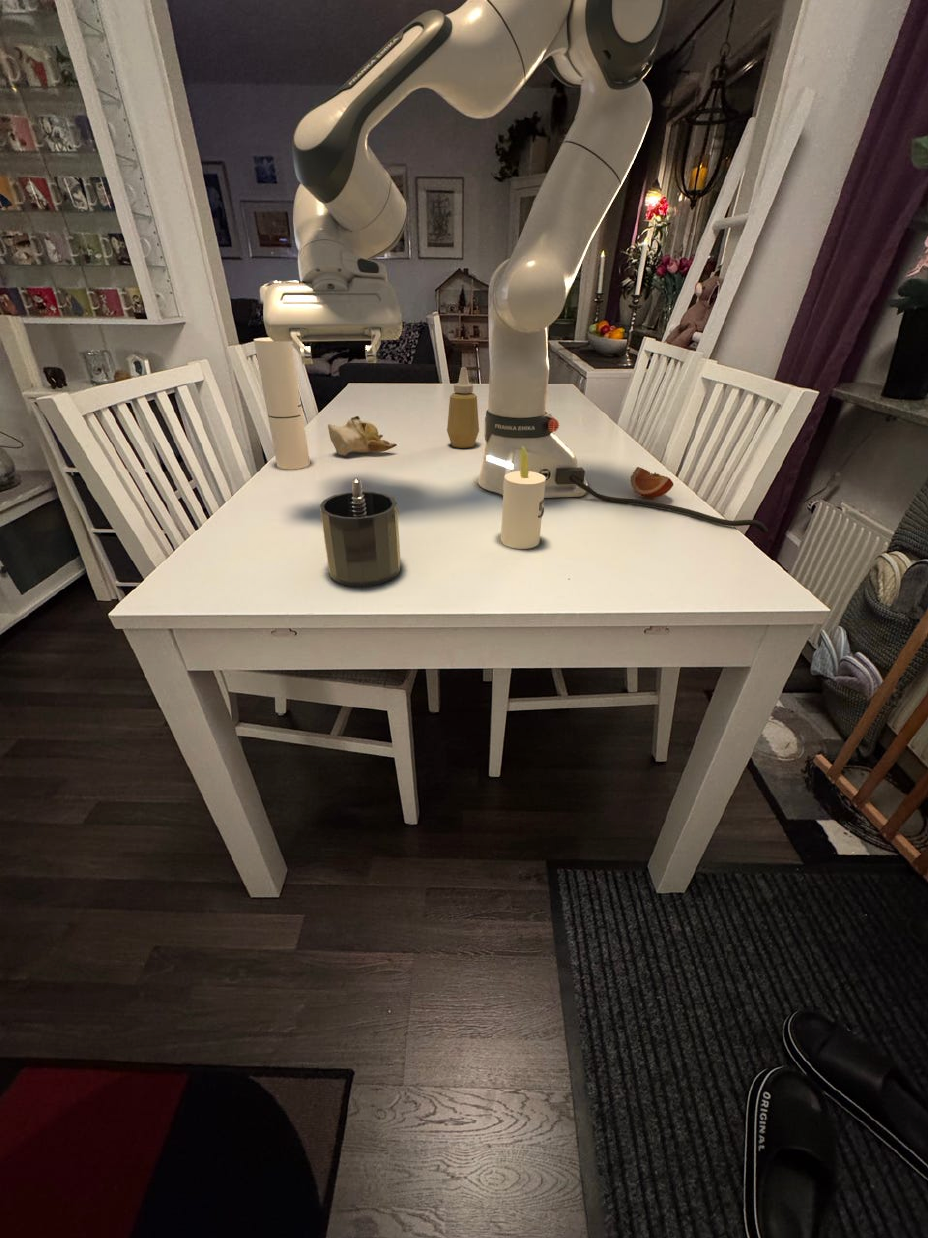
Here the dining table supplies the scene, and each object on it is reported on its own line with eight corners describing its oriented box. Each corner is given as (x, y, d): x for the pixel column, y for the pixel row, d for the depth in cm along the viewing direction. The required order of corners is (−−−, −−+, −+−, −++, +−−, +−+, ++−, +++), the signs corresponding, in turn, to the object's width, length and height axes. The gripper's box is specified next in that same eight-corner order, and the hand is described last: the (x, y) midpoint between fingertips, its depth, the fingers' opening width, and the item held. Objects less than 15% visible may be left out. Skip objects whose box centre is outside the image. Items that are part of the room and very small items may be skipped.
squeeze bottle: (446, 441, 135) (445, 365, 125) (477, 441, 136) (479, 365, 126) (448, 450, 128) (447, 370, 118) (480, 449, 129) (482, 370, 119)
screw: (352, 575, 73) (344, 561, 77) (386, 569, 75) (376, 555, 78) (342, 485, 66) (333, 474, 69) (379, 480, 67) (368, 470, 71)
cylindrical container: (314, 460, 120) (296, 337, 106) (303, 470, 114) (283, 341, 100) (284, 459, 120) (262, 336, 107) (271, 468, 114) (247, 340, 101)
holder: (405, 555, 80) (401, 492, 74) (393, 588, 71) (388, 520, 66) (339, 552, 80) (331, 489, 75) (320, 585, 72) (309, 517, 66)
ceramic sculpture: (320, 412, 122) (381, 410, 128) (323, 449, 126) (381, 446, 133) (334, 422, 114) (398, 419, 120) (336, 462, 119) (397, 457, 125)
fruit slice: (621, 492, 105) (625, 467, 102) (645, 487, 107) (651, 463, 104) (651, 506, 98) (657, 480, 96) (677, 500, 101) (683, 475, 98)
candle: (530, 552, 81) (539, 456, 73) (493, 542, 84) (498, 448, 76) (546, 538, 86) (557, 445, 77) (511, 529, 88) (518, 439, 80)
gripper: (253, 262, 75) (261, 346, 72) (395, 264, 79) (408, 344, 76) (262, 298, 81) (270, 376, 78) (394, 298, 85) (405, 372, 82)
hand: (339, 360), depth 77 cm, fingers open, 8 cm apart
